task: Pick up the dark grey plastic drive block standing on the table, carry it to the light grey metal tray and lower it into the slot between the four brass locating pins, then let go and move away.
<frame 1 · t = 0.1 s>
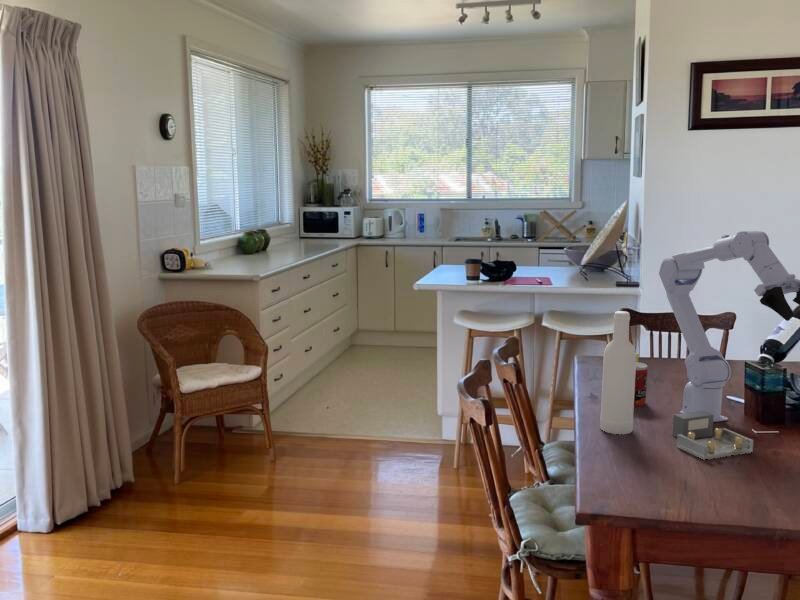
candy box: (620, 373, 245), on the table
bottle: (616, 430, 190), on the table
drive: (692, 436, 186), on the table
pin tray: (714, 449, 176), on the table
canned food: (630, 403, 213), on the table
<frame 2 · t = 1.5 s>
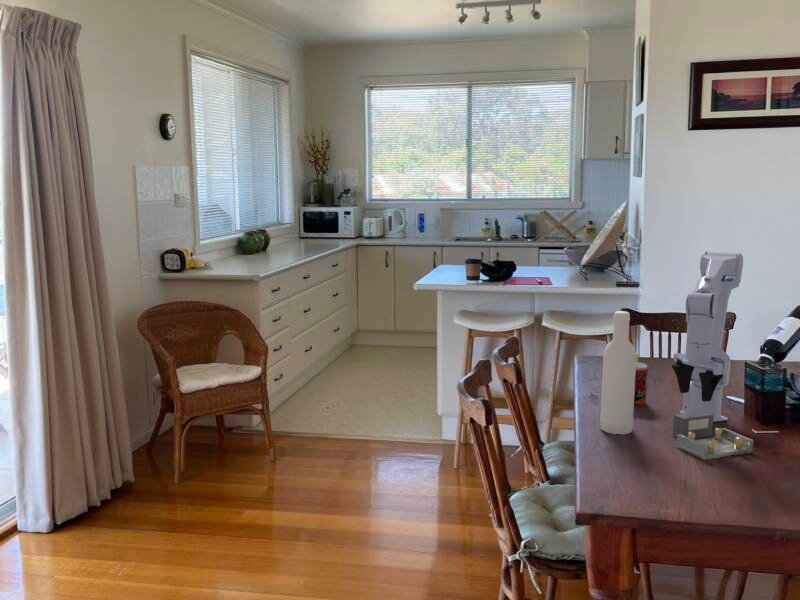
hand: (695, 396, 184), 10 cm above the table, tool pointing down, fingers open, 7 cm apart
nothing on the table moved.
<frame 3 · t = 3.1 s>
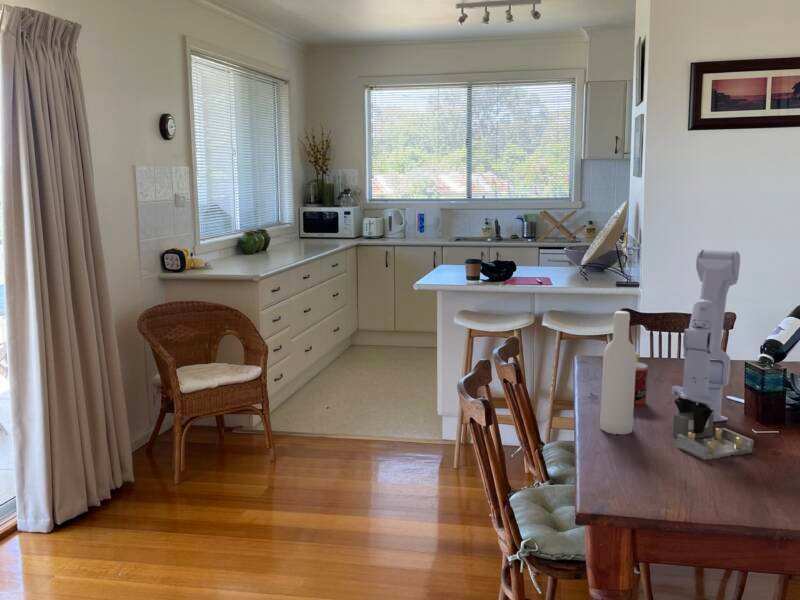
hand: (692, 430, 186), 1 cm above the table, tool pointing down, fingers closed on drive, 4 cm apart
drive: (692, 435, 186), on the table, touching gripper
everything else where it was.
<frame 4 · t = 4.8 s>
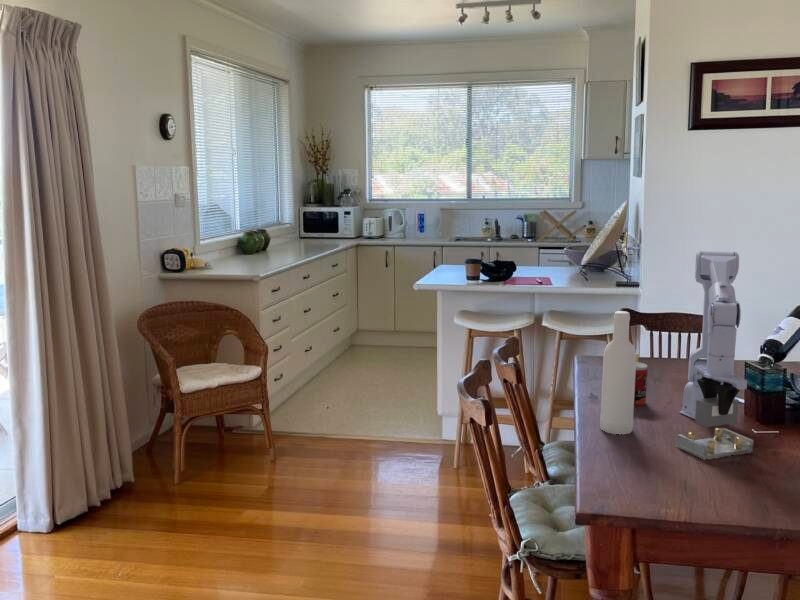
hand: (716, 411, 175), 9 cm above the table, tool pointing down, fingers closed on drive, 4 cm apart
drive: (715, 422, 175), point 7 cm above the table, touching gripper
everything else where it was.
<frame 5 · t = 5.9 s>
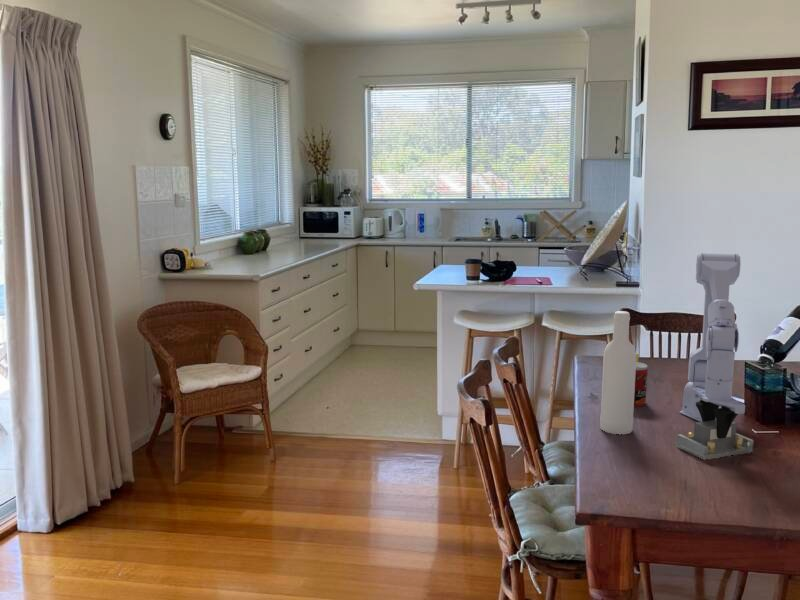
hand: (715, 434, 176), 4 cm above the table, tool pointing down, fingers closed on drive, 4 cm apart
drive: (714, 445, 176), point 1 cm above the table, touching gripper, pin tray
everything else where it was.
when the fingers open (4 cm above the table, at t = 6.5 s): drive stays where it is, resting on pin tray.
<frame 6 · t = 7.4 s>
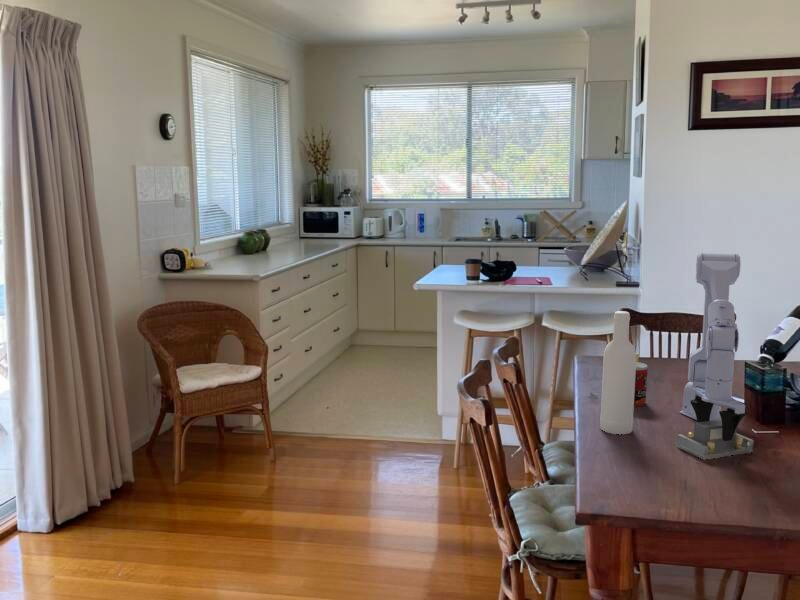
hand: (715, 434, 176), 4 cm above the table, tool pointing down, fingers open, 7 cm apart
drive: (714, 445, 176), point 1 cm above the table, touching pin tray
everything else where it was.
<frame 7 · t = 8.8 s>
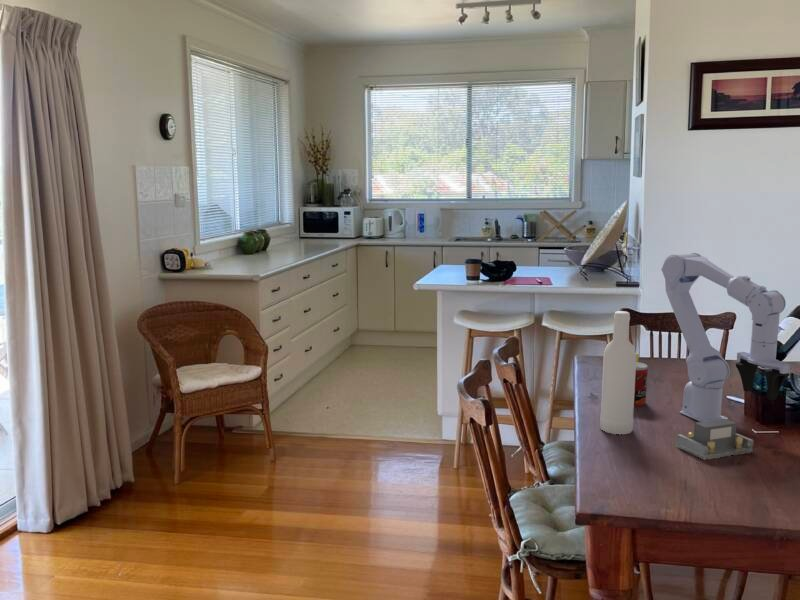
hand: (759, 395, 186), 10 cm above the table, tool pointing down, fingers open, 7 cm apart
nothing on the table moved.
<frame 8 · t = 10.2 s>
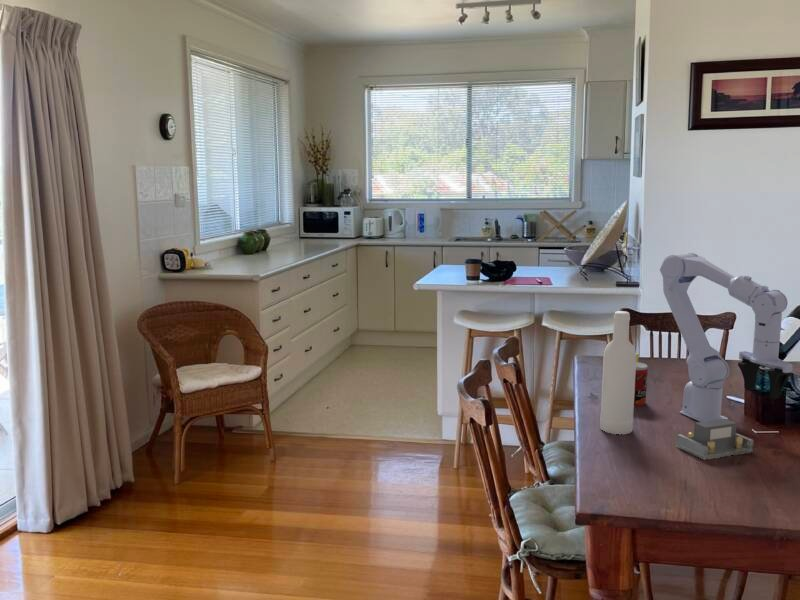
hand: (762, 394, 186), 10 cm above the table, tool pointing down, fingers open, 7 cm apart
nothing on the table moved.
at the end: drive inside the target area on the pin tray (0.1 cm from its centre), point 1.0 cm above the pin tray's base; drive tilted 0°; the gripper is holding nothing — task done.
